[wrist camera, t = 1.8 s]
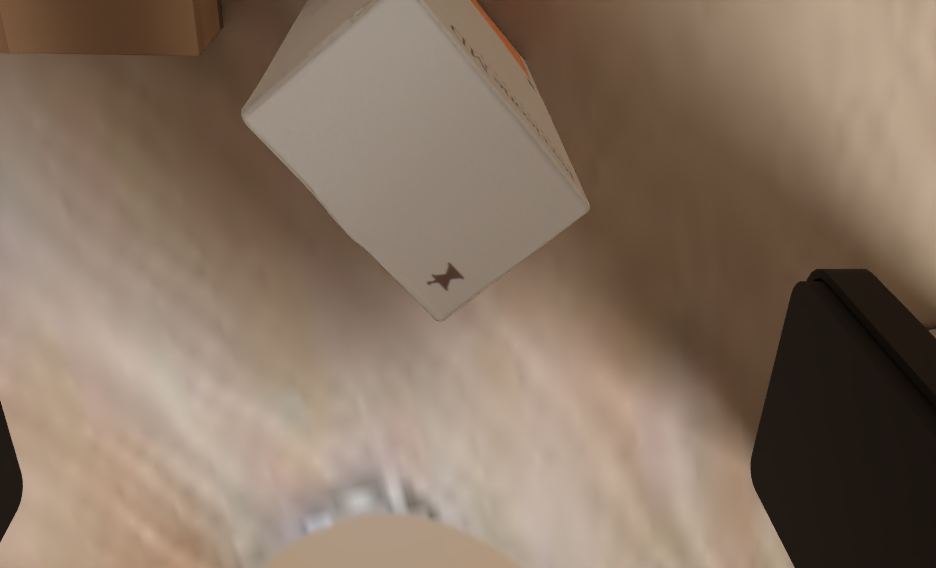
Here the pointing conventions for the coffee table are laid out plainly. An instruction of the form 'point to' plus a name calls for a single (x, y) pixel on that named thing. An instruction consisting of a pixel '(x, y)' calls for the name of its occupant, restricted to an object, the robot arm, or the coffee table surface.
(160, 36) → the socket block
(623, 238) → the coffee table surface
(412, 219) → the skincare box
